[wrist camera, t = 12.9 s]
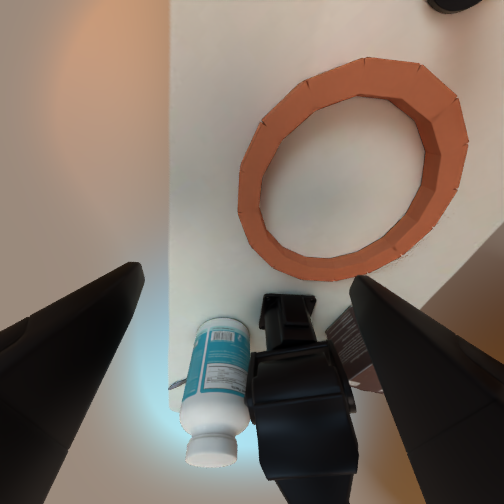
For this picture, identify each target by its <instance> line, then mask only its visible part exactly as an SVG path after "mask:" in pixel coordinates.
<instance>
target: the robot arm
mask: <svg viewBox="0 0 504 504" xmlns="http://www.w3.org/2000/svg"><path fill="white" fill-rule="evenodd" d="M144 282H145V277H144V274H143V270H142V266H141V264H140V263H139V262H128V263H126V264H124V265H122V266H120V267H118V268H117V269H115V270H113V271H111V272H109V273H107V274H106V275H104V276H102V277H100V278H98V279H97V280H94V281H93V282H91V283H89V284H87V285H85V286H83V287H82V288H80V289H78V290H76V291H74V292H72V293H71V294H69V295H67V296H65V297H63V298H61V299H60V300H58V301H56V302H54V303H52V304H51V305H48V306H47V307H45V308H43V309H41V310H39V311H38V312H36V313H34V314H32V315H30V317H26V318H24V319H23V320H21V321H19V322H17V323H15V324H14V325H12V326H10V327H8V328H6V329H4V330H2V331H0V504H43V503H44V501H45V499H46V497H47V494H48V493H49V490H50V488H51V486H52V484H53V482H54V480H55V478H56V476H57V474H58V472H59V470H60V467H61V465H62V463H63V461H64V459H65V457H66V455H67V453H68V449H69V448H70V446H71V444H72V442H73V440H74V438H75V436H76V434H77V432H78V430H79V428H80V425H81V423H82V421H83V419H84V417H85V415H86V413H87V411H88V409H89V407H90V405H91V402H92V400H93V398H94V396H95V394H96V392H97V390H98V388H99V386H100V384H101V382H102V379H103V378H104V375H105V373H106V371H107V369H108V367H109V365H110V363H111V361H112V359H113V357H114V355H115V353H116V350H117V348H118V346H119V344H120V342H121V340H122V338H123V336H124V334H125V332H126V330H127V328H128V325H129V323H130V321H131V319H132V317H133V314H134V312H135V309H136V306H137V303H138V300H139V297H140V294H141V291H142V288H143V286H144ZM349 294H350V298H351V302H352V306H353V309H354V313H355V317H356V321H357V324H358V327H359V330H360V333H361V335H362V338H363V340H364V343H365V346H366V348H367V351H368V353H369V356H370V359H371V361H372V364H373V366H374V369H375V372H376V374H377V377H378V379H379V382H380V385H381V387H382V390H383V392H384V395H385V397H386V400H387V402H388V405H389V408H390V410H391V413H392V415H393V418H394V421H395V423H396V426H397V429H398V431H399V434H400V436H401V439H402V442H403V444H404V446H405V449H406V452H407V453H408V454H407V455H408V458H409V460H410V463H411V465H412V468H413V470H414V473H415V475H416V478H417V481H418V483H419V486H420V489H421V491H422V494H423V496H424V499H425V502H426V504H504V364H502V363H500V362H499V361H497V360H496V359H494V358H492V357H491V356H489V355H487V354H486V353H484V352H483V351H481V350H480V349H478V348H476V347H475V346H473V345H472V344H470V343H468V342H467V341H466V340H464V339H463V338H461V337H460V336H458V335H455V333H453V332H452V331H451V330H449V329H447V328H446V327H444V326H443V325H441V324H440V323H438V322H437V321H435V320H434V319H432V318H431V317H429V316H428V315H426V314H425V313H423V312H422V311H420V310H419V309H417V308H416V307H414V306H413V305H411V304H409V303H408V302H406V301H405V300H403V299H402V298H400V297H399V296H397V295H396V294H394V293H393V292H391V291H390V290H388V289H387V288H385V287H384V286H382V285H381V284H379V283H378V282H376V281H375V280H373V279H372V278H370V277H368V276H366V275H357V276H356V277H355V278H354V281H353V283H352V285H351V287H350V290H349ZM267 297H269V298H267ZM315 303H316V298H315V297H314V296H305V295H286V294H265V295H264V297H263V303H262V309H261V315H260V321H259V328H260V329H262V330H265V333H266V347H267V351H263V352H257V353H256V352H252V353H251V357H250V360H249V367H248V375H247V383H246V391H245V396H244V404H245V405H246V406H247V408H248V411H249V416H250V419H251V422H252V424H254V425H256V429H257V437H258V447H259V448H258V449H259V461H260V465H261V467H262V470H263V472H264V474H265V476H266V478H267V479H268V481H269V480H270V481H271V480H275V482H276V484H277V485H278V487H279V489H280V491H281V492H282V494H283V496H284V497H285V499H286V501H287V502H288V504H350V503H349V497H350V492H351V486H352V481H353V475H354V474H356V473H357V468H358V458H359V453H358V442H357V438H356V435H355V431H354V427H353V424H352V421H351V417H350V413H356V405H355V401H354V397H353V394H352V390H351V387H350V383H349V380H348V378H347V375H346V372H345V370H344V367H343V365H342V363H341V360H340V358H339V356H338V353H337V351H336V348H335V346H334V344H333V341H332V339H329V340H326V341H322V342H317V339H316V336H315V332H314V329H313V325H312V322H311V318H310V317H311V314H312V312H313V309H314V306H315Z"/></svg>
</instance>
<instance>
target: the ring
mask: <svg viewBox="0 0 504 504" xmlns="http://www.w3.org/2000/svg"><path fill="white" fill-rule="evenodd" d="M354 96H360V97H369V98H378V99H387V100H389V101H390V102H392V103H393V104H394V105H395V106H397V107H398V108H399V109H400V110H402V111H403V112H404V113H406V114H407V115H408V116H409V117H411V118H412V119H413V120H414V121H415V122H416V125H417V128H418V131H419V134H420V137H421V140H422V142H423V145H424V148H425V151H426V154H425V162H424V169H423V177H422V184H421V186H420V188H419V190H418V192H417V194H416V196H415V198H414V200H413V201H412V203H411V205H410V207H409V209H408V211H407V213H406V215H405V216H404V217H403V218H402V219H401V220H400V221H399V222H398V223H397V224H396V225H395V226H394V227H393V228H392V229H391V230H390V231H389V232H388V233H387V234H386V235H385V236H384V237H383V238H381V239H379V240H377V241H376V242H374V243H372V244H370V245H369V246H367V247H365V248H363V249H362V250H360V251H358V252H355V253H351V254H347V255H343V256H339V257H335V258H331V259H328V258H312V257H304V256H302V255H300V254H297V253H295V252H293V251H291V250H288V249H286V248H284V247H282V246H281V245H280V244H279V243H278V241H277V240H276V239H275V238H274V237H273V236H272V235H271V234H270V233H269V232H268V230H267V229H266V227H265V223H264V220H263V217H262V214H261V211H260V208H259V203H260V194H261V185H262V177H263V175H264V173H265V171H266V169H267V167H268V166H269V164H270V162H271V160H272V158H273V156H274V154H275V152H276V151H277V149H278V147H279V145H280V143H281V141H282V140H283V139H284V138H285V137H286V136H287V135H289V134H290V133H291V132H292V131H293V130H294V129H295V128H297V127H298V126H299V125H300V124H301V123H302V122H303V121H304V120H306V119H307V118H308V117H309V116H310V115H311V114H312V113H313V112H315V111H316V110H318V109H321V108H324V107H327V106H330V105H332V104H335V103H338V102H341V101H343V100H346V99H349V98H352V97H354ZM456 97H457V95H456V94H455V93H454V92H452V91H451V90H450V89H449V88H448V87H447V86H446V85H445V84H444V83H443V82H441V81H440V80H439V79H438V78H437V77H436V76H435V75H434V74H433V73H431V72H430V71H429V70H428V69H427V68H426V67H425V66H424V65H420V64H419V63H413V62H404V61H396V60H388V59H379V58H371V57H366V58H361V59H358V60H356V61H353V62H350V63H348V64H345V65H343V66H340V67H337V68H335V69H332V70H330V71H327V72H325V73H322V74H319V75H317V76H314V77H312V78H309V79H307V80H304V81H303V82H302V83H299V84H298V85H297V86H296V87H295V88H294V89H293V90H292V91H291V92H290V93H289V94H288V95H287V96H286V97H285V98H284V99H283V100H282V101H281V102H279V103H278V104H277V105H276V106H275V107H274V108H273V109H272V110H271V111H270V112H269V113H268V114H267V115H266V116H265V117H264V118H263V119H262V121H263V123H262V122H260V124H259V126H258V128H257V130H256V132H255V134H254V136H253V139H252V141H251V143H250V145H249V147H248V149H247V152H246V154H245V156H244V158H243V160H242V162H241V166H240V172H239V192H238V216H239V218H240V221H241V223H242V226H243V229H244V231H245V234H246V236H247V239H248V242H249V244H250V245H251V247H252V248H253V249H254V250H255V251H256V252H257V253H258V254H259V255H260V256H261V257H262V258H263V259H264V260H265V261H266V262H267V263H268V264H269V265H270V266H271V267H273V268H274V269H276V270H278V271H281V272H283V273H286V274H288V275H291V276H293V277H296V278H298V279H300V280H301V279H302V280H314V281H332V282H333V280H334V281H339V280H343V279H347V278H352V277H356V276H357V275H365V274H367V272H368V273H371V272H372V271H374V270H376V269H378V268H380V267H382V266H384V265H386V264H388V263H390V262H392V261H394V260H395V259H397V258H399V257H401V254H402V255H404V254H405V253H406V252H407V251H408V250H409V249H411V248H412V247H413V246H414V245H415V244H416V243H417V242H418V241H419V240H421V239H422V238H423V237H424V236H425V235H426V234H427V233H428V232H429V231H431V230H432V229H433V228H432V227H435V225H436V224H437V222H438V221H439V219H440V217H441V216H442V214H443V213H444V211H445V209H446V208H447V206H448V205H449V203H450V202H451V200H452V198H453V197H454V195H455V194H456V192H457V191H458V190H457V189H456V188H458V187H459V184H460V179H461V175H462V171H463V166H464V162H465V158H466V153H467V149H468V144H467V143H468V142H469V140H468V136H467V131H466V127H465V123H464V119H463V114H462V110H461V106H460V102H459V98H456Z"/></svg>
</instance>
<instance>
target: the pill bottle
mask: <svg viewBox="0 0 504 504" xmlns="http://www.w3.org/2000/svg"><path fill="white" fill-rule="evenodd" d="M249 360H250V335H249V332H248V329H247V328H246V327H245V326H244V325H243V324H242V323H240V322H239V321H236V320H234V319H229V318H216V319H212V320H209V321H207V322H205V323H204V324H202V325H201V326H200V328H199V329H198V331H197V334H196V338H195V343H194V348H193V352H192V357H191V362H190V367H189V372H188V376H187V381H186V385H185V390H184V395H183V399H182V404H181V409H180V415H179V416H180V423H181V425H182V427H183V429H184V430H185V431H186V432H187V433H189V434H190V435H192V438H191V439H190V441H189V443H188V445H187V452H186V459H185V460H186V462H187V463H188V464H190V465H193V466H197V467H206V468H213V467H224V466H228V465H231V464H233V463H235V462H236V460H237V441H236V439H235V436H236V435H238V434H240V433H241V432H242V431H244V430H245V429H246V427H247V426H248V424H249V422H250V416H249V411H248V408H247V406H246V405H245V404H244V396H245V391H246V383H247V375H248V367H249Z"/></svg>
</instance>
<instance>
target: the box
mask: <svg viewBox="0 0 504 504" xmlns="http://www.w3.org/2000/svg"><path fill="white" fill-rule="evenodd" d="M326 335H327V339H328V340H329V339H332V341H333V344H334V346H335V348H336V351H337V353H338V356H339V358H340V360H341V363H342V365H343V367H344V370H345V372H346V375H347V378H348V380H349V383H350V387H354V388H357V389H360V390H363V391H371V392H375V393H381V394H383V393H384V392H383V390H382V387H381V385H380V382H379V379H378V377H377V374H376V372H375V369H374V366H373V364H372V361H371V359H370V356H369V353H368V351H367V348H366V346H365V343H364V340H363V338H362V335H361V333H360V330H359V327H358V324H357V321H356V317H355V313H354V309H353V307H349V308H348V309H347V310H346V311H345V312H344V313H343V314H342V315H341V316H340V317H339V318H338V319H337V320H336V321H335V322H334V323H333V324H332V325H331V326H330V327H329V328H328V329H327V330H326Z"/></svg>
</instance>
